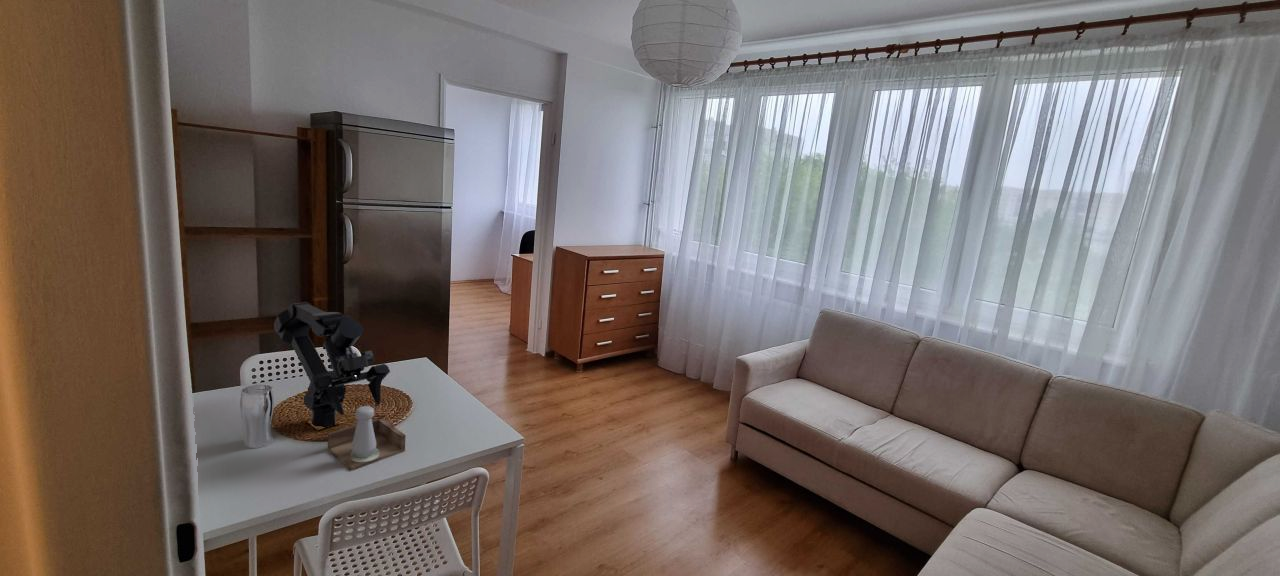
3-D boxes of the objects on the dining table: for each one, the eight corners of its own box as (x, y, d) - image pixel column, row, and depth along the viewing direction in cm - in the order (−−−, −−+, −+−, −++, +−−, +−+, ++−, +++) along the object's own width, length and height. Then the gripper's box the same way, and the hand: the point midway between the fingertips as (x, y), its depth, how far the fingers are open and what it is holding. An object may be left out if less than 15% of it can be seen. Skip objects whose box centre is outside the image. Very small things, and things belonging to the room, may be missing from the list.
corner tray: (327, 449, 138) (327, 432, 137) (380, 432, 150) (380, 417, 149) (351, 470, 131) (351, 453, 130) (404, 451, 142) (405, 435, 141)
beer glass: (280, 440, 140) (279, 388, 136) (254, 452, 133) (252, 397, 130) (262, 433, 142) (260, 381, 138) (235, 444, 135) (232, 390, 132)
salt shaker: (376, 458, 136) (377, 412, 133) (350, 461, 133) (351, 414, 130) (376, 447, 141) (377, 402, 138) (352, 449, 138) (352, 404, 135)
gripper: (312, 348, 127) (333, 407, 124) (387, 335, 142) (408, 387, 139) (298, 368, 134) (318, 424, 130) (372, 354, 149) (391, 403, 145)
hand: (361, 409), depth 136 cm, fingers open, 9 cm apart
